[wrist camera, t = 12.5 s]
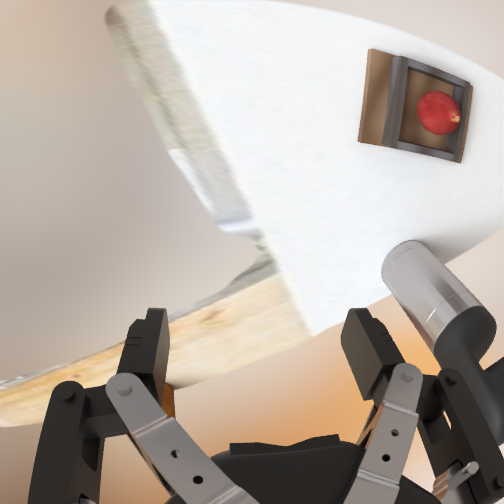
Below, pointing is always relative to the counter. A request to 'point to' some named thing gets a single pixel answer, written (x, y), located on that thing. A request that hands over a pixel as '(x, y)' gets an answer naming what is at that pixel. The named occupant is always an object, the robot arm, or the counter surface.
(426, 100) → the onion
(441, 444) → the robot arm
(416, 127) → the pocket board
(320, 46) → the counter surface
